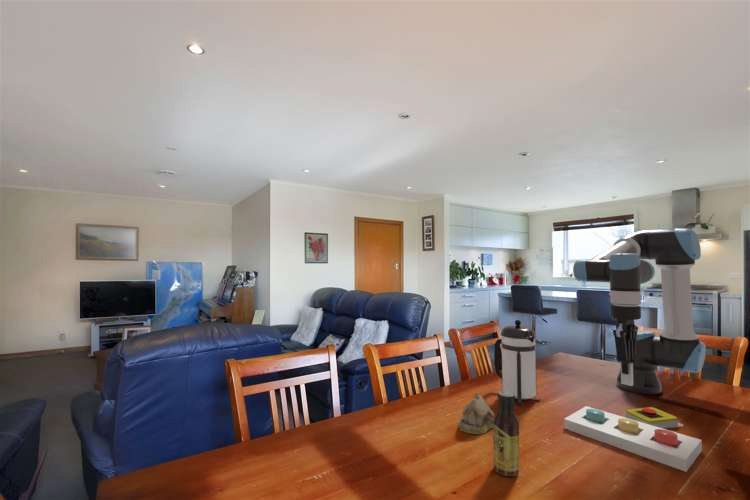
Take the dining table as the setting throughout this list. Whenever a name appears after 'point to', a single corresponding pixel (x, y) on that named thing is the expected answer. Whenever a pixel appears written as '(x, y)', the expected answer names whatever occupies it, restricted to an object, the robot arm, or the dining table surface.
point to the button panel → (636, 439)
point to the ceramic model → (476, 416)
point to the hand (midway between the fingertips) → (627, 384)
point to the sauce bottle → (506, 436)
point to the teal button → (595, 416)
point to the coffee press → (517, 361)
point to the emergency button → (653, 417)
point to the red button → (666, 438)
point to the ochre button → (628, 426)
